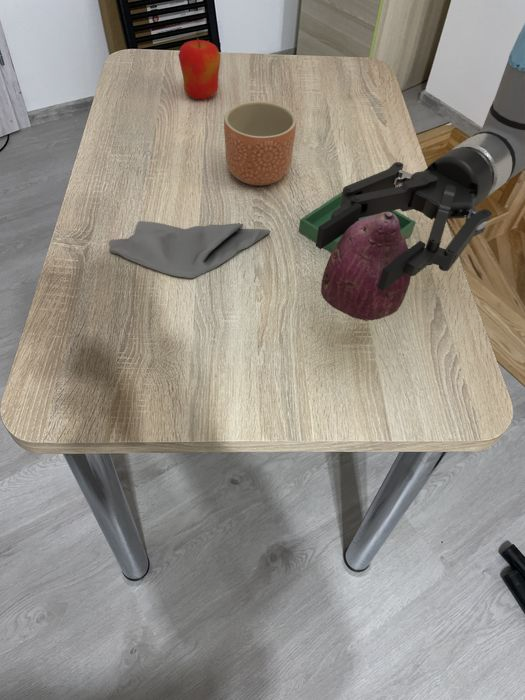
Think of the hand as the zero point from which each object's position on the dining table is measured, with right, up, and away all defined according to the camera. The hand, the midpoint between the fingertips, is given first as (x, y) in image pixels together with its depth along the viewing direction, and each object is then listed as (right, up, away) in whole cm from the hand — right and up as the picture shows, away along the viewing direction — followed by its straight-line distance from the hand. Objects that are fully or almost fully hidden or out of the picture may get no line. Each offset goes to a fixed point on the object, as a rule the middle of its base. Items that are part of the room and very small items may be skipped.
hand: (350, 258), depth 57 cm
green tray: (+6, +10, +34) cm, 36 cm away
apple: (-23, +46, +61) cm, 79 cm away
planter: (-10, +23, +43) cm, 50 cm away
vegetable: (+3, -2, +9) cm, 9 cm away
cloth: (-21, +6, +30) cm, 37 cm away
